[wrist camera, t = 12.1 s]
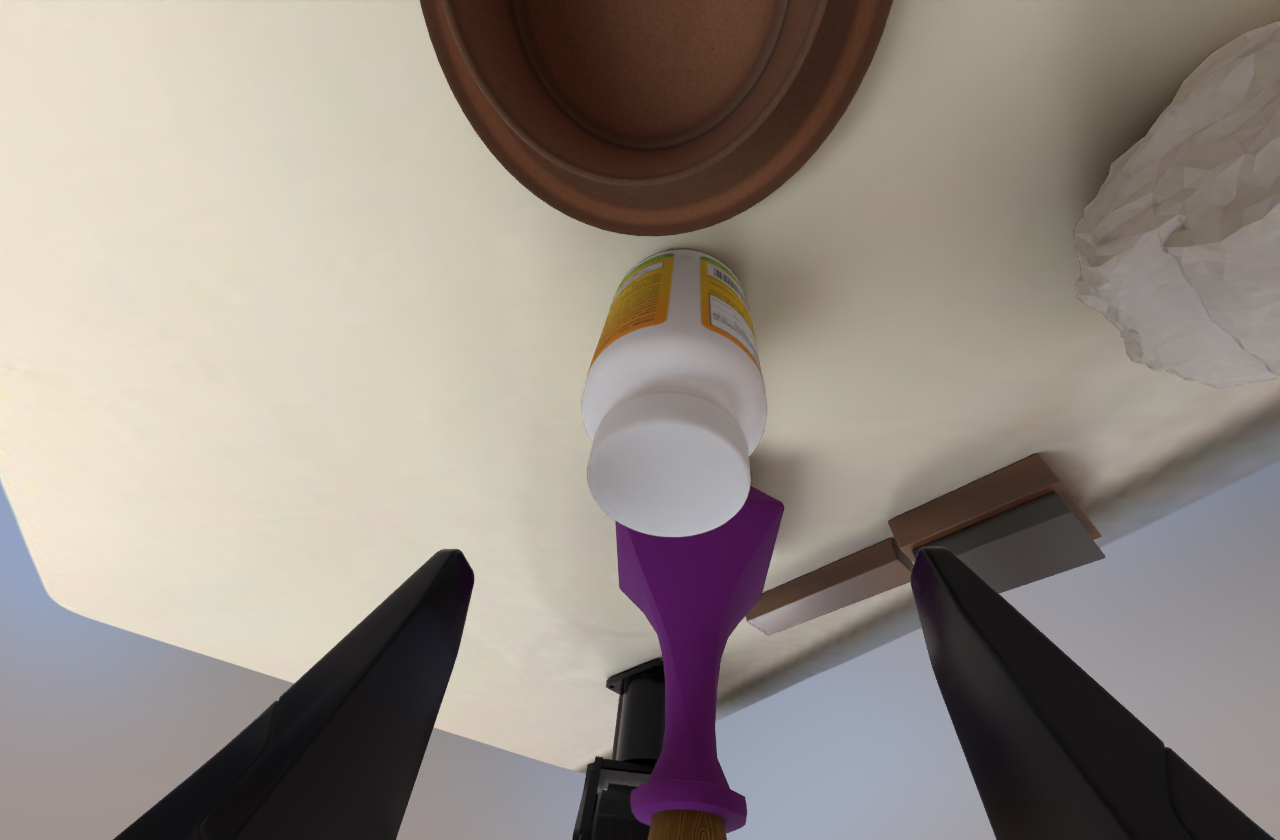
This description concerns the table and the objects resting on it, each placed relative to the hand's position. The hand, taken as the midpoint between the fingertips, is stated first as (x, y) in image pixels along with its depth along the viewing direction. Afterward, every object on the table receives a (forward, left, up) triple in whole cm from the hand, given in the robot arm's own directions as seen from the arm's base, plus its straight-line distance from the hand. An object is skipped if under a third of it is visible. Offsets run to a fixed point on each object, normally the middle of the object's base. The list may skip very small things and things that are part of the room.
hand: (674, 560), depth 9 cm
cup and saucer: (+6, +7, -12) cm, 15 cm away
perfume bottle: (-7, -8, -12) cm, 17 cm away
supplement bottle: (0, 0, -12) cm, 12 cm away
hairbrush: (-2, -19, -12) cm, 22 cm away
